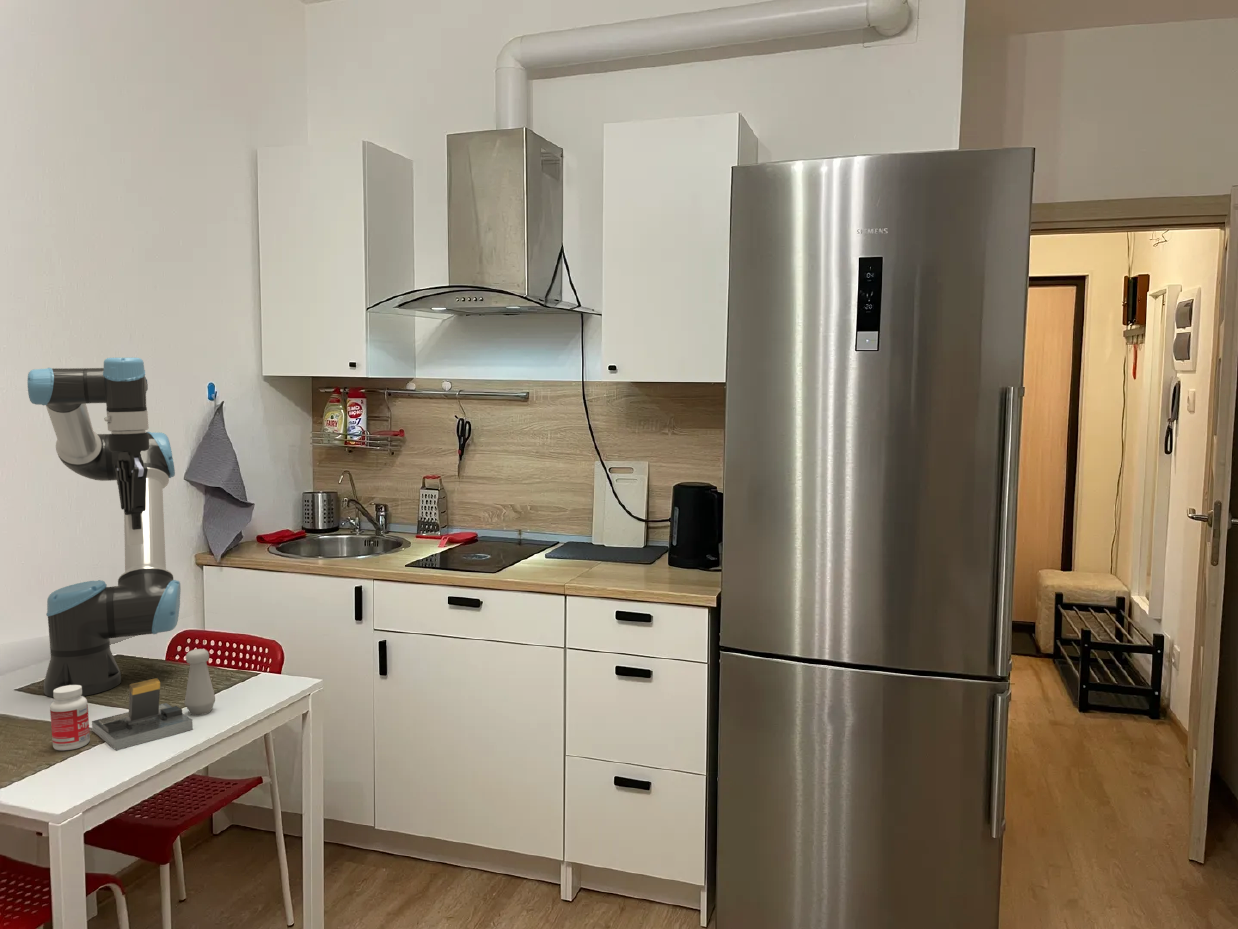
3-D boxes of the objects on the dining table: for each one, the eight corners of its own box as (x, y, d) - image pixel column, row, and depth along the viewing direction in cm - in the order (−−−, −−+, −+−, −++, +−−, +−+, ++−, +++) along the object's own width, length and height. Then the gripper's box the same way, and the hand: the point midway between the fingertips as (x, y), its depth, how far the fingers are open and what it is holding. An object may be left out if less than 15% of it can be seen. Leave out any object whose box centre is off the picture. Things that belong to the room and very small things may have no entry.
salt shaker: (204, 717, 193) (200, 655, 191) (179, 716, 194) (175, 654, 193) (221, 707, 198) (218, 647, 197) (197, 706, 200) (193, 646, 198)
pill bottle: (84, 749, 177) (79, 692, 176) (48, 753, 176) (43, 695, 174) (94, 737, 183) (90, 681, 182) (59, 740, 182) (55, 684, 181)
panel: (92, 731, 186) (91, 716, 186) (166, 712, 196) (165, 698, 196) (116, 750, 176) (115, 734, 176) (192, 729, 186) (191, 714, 186)
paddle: (125, 721, 184) (126, 685, 181) (157, 713, 188) (159, 677, 186) (128, 725, 183) (130, 689, 180) (160, 717, 187) (162, 682, 185)
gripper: (98, 432, 198) (106, 543, 200) (119, 434, 189) (127, 550, 191) (136, 430, 203) (143, 538, 206) (158, 432, 194) (165, 545, 196)
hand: (135, 544), depth 198 cm, fingers closed
